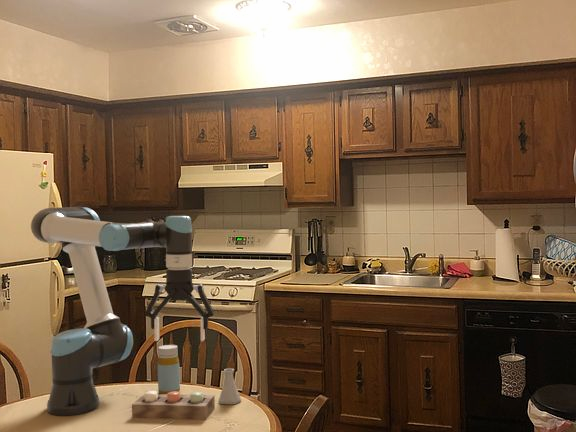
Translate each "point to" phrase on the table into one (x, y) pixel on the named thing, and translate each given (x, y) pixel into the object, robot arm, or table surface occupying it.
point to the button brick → (173, 396)
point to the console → (173, 408)
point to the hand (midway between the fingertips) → (179, 340)
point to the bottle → (168, 369)
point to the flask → (229, 389)
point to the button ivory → (151, 396)
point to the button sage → (196, 397)
